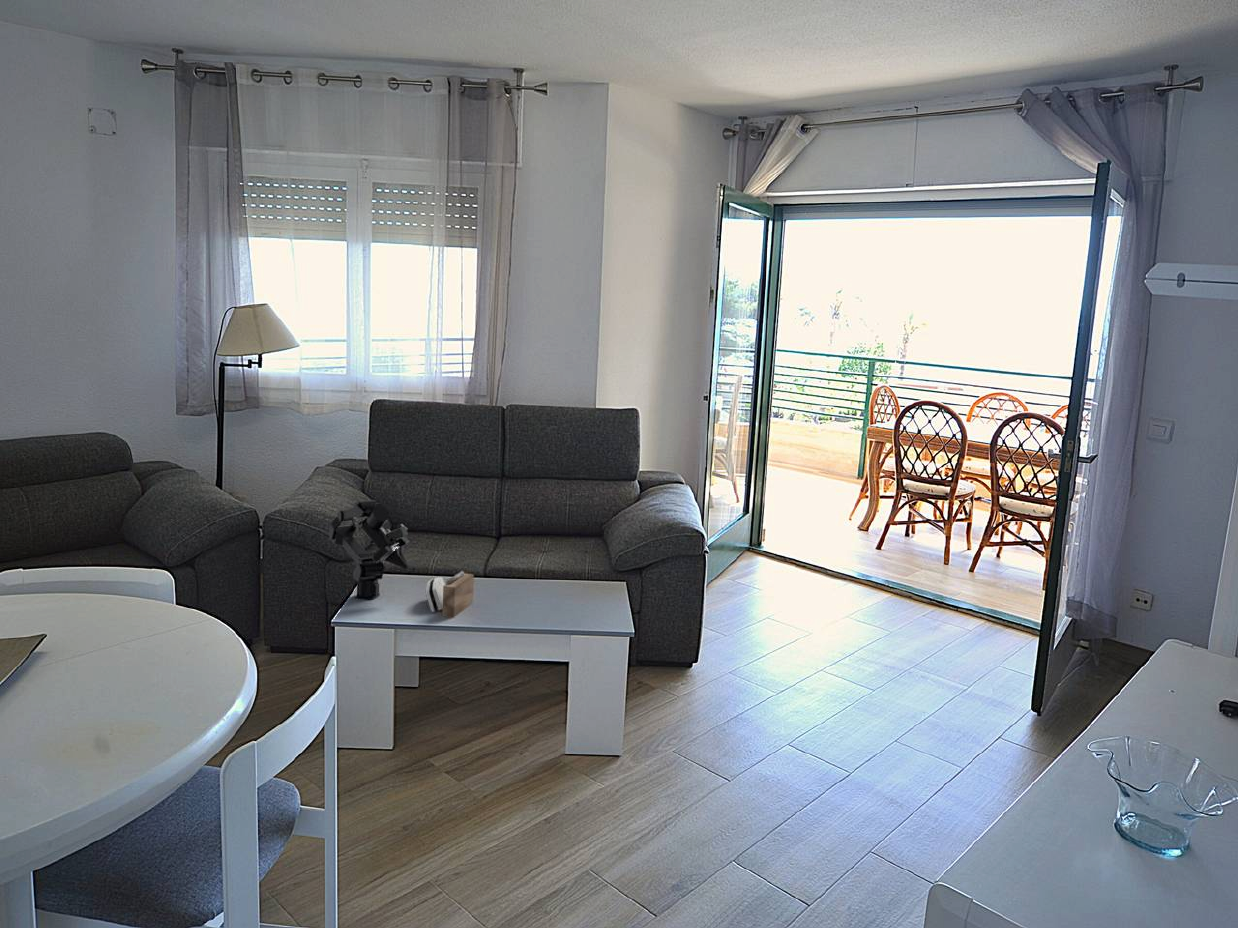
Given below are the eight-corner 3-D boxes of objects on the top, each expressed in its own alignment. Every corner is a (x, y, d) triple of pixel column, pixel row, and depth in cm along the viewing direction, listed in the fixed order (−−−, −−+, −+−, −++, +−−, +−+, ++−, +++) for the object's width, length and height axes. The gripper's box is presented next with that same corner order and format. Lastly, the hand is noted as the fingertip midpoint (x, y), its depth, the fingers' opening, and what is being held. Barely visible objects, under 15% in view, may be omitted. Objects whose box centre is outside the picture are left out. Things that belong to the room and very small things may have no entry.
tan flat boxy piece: (441, 615, 305) (442, 581, 303) (460, 601, 321) (461, 569, 320) (453, 617, 304) (455, 583, 302) (472, 602, 320) (473, 570, 319)
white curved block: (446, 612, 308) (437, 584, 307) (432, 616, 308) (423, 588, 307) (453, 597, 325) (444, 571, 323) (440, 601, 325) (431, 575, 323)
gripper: (381, 522, 305) (413, 558, 304) (403, 513, 323) (433, 547, 322) (358, 544, 307) (389, 580, 306) (382, 533, 325) (411, 567, 325)
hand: (407, 568), depth 315 cm, fingers closed
